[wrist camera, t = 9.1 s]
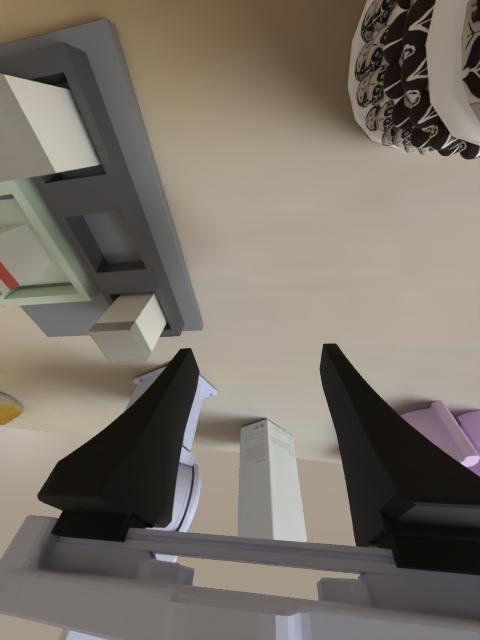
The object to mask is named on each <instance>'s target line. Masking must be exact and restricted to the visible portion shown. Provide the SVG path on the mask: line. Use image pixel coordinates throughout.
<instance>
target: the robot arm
mask: <svg viewBox="0 0 480 640" xmlns="http://www.w3.org/2000/svg"><path fill="white" fill-rule="evenodd" d="M199 372H200V371H199V368H198V366H197V363H196V360H195V358H194V355H193V352H192V350H191V348H185V349H180V350H179V351H178V353H177V354H176V355H175V356H174V358H173V359H172V360H171V361H170V363H169V364H168V365H167V366H165V367H163V368H160V369H158V370H155V371H153V372H150V373H147V374H145V375H142V376H140V377H137V378H135V379H134V380H133V383H135V384H136V385H137V387H136V389H135V391H134V393H133V395H132V397H131V399H130V401H129V403H128V405H127V407H126V409H125V411H124V413H123V414H121V415H120V416H119V417H118V418H117V419H116V420H114V421H113V422H112V423H111V424H110V425H109V426H107V427H106V428H105V429H104V430H102V431H101V432H100V433H98V434H97V435H96V436H95V437H93V438H92V439H91V440H89V441H88V442H87V443H85V444H84V445H82V446H81V447H79V448H78V449H76V450H75V451H73V452H72V453H71V454H69V455H68V456H66V457H65V458H63V459H62V460H60V461H59V462H58V463H57V464H56V466H55V467H54V469H53V471H52V472H51V474H50V475H49V477H48V479H47V480H46V482H45V483H44V485H43V487H42V488H41V490H40V492H39V493H38V495H37V496H38V499H39V500H40V501H42V502H43V503H46V504H48V505H50V506H53V507H55V508H58V509H60V510H62V511H63V512H62V514H61V515H60V517H59V519H58V518H54V517H44V516H32V515H30V516H28V517H26V519H25V520H24V522H23V524H22V525H21V527H20V529H19V530H18V532H17V533H16V535H15V537H14V538H13V540H12V542H11V543H10V545H9V546H8V548H7V550H6V551H5V553H4V555H3V557H2V558H1V560H0V614H3V615H8V616H13V617H18V618H22V619H26V620H30V621H35V622H39V623H43V624H47V625H51V626H55V627H59V628H63V631H62V633H61V636H60V638H59V640H480V476H478V475H477V474H475V473H474V472H473V471H471V470H470V469H468V468H467V467H465V466H464V465H462V464H461V463H460V462H458V461H457V460H455V459H454V458H452V457H451V456H450V455H448V454H447V453H446V452H444V451H443V450H442V449H440V448H439V447H438V446H436V445H435V444H434V443H432V442H431V441H430V440H429V439H427V438H426V437H425V436H424V435H422V434H421V433H420V432H419V431H418V430H416V429H415V428H414V427H413V426H411V425H410V424H409V423H408V422H407V421H406V420H404V419H403V418H402V417H401V416H400V415H399V414H398V413H397V412H395V411H394V410H393V409H392V408H391V407H390V406H389V405H388V404H387V403H386V402H385V401H384V400H383V399H382V398H381V397H380V396H379V395H378V394H377V393H376V392H375V391H374V390H373V389H372V388H371V386H370V385H369V384H368V383H367V382H366V381H365V380H364V379H363V377H362V376H361V375H360V374H359V373H358V372H357V370H356V369H355V368H354V367H353V365H352V364H351V363H350V362H349V360H348V359H347V358H346V356H345V355H344V354H343V352H342V351H341V350H340V348H339V347H338V345H337V344H336V343H335V344H323V349H322V356H321V363H320V374H321V380H322V386H323V390H324V393H325V397H326V400H327V403H328V407H329V410H330V413H331V417H332V420H333V423H334V427H335V430H336V434H337V439H338V444H339V449H340V454H341V459H342V464H343V469H344V475H345V480H346V486H347V492H348V498H349V504H350V510H351V517H352V522H353V530H354V537H355V542H356V546H344V545H332V544H320V543H309V542H297V541H285V540H273V539H260V538H248V537H236V536H224V535H211V534H200V533H188V532H187V529H188V527H189V525H190V524H191V521H192V519H193V516H194V514H195V511H196V508H197V504H198V500H199V495H200V489H201V488H200V487H201V475H200V472H199V468H198V466H197V464H195V463H193V462H194V457H195V454H193V453H191V449H192V444H193V440H194V436H195V431H196V427H197V422H198V418H199V413H200V409H201V404H202V400H203V399H205V398H209V397H212V396H216V395H217V391H216V390H215V389H214V388H213V387H212V386H211V385H210V384H209V383H208V382H207V381H206V380H204V379H203V378H202V377H201V376H200V375H199ZM177 556H182V557H193V558H202V559H212V560H222V561H232V562H243V563H253V564H264V565H273V566H283V567H294V568H303V569H313V570H324V571H334V572H344V573H354V574H361V575H360V576H359V577H358V580H357V579H343V578H321V580H320V581H318V583H317V588H318V596H319V601H314V600H307V599H298V598H290V597H282V596H273V595H266V594H257V593H248V592H240V591H232V590H223V589H214V588H206V587H197V586H192V582H193V576H194V569H193V568H190V567H186V566H182V565H180V564H179V563H175V561H176V560H177Z"/></svg>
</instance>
